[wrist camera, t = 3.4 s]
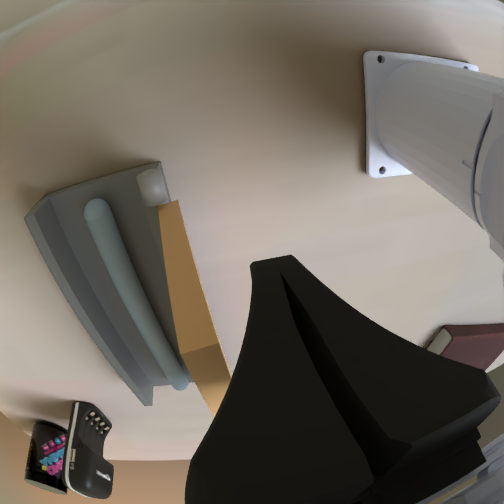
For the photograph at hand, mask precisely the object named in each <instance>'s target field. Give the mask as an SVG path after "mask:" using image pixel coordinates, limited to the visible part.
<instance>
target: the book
mask: <svg viewBox="0 0 504 504" xmlns="http://www.w3.org/2000/svg"><path fill="white" fill-rule="evenodd" d="M442 328H443V329H442ZM442 328H441V329H442V330H441V331H440V333H439V334H438V335H437V336H436V338H435V339H434V340H432V341H431V342H430V343H429V345H428V346H427V347H426V348H425V349H426V350H428V351H431V352H433V353H436V354H438V355H441V356H443V357H446V358H448V359H451V360H454V361H457V362H461V363H464V364H467V365H470V366H473V367H477V368H480V369H483V370H484V371H485V370H486V369H487V368H488V367H489V366H490V365H491V364H492V363H493V362H494V361H495V359H496V358H497V357H498V356H499V355H500V354H501V352H502V351H503V350H504V324H489V325H487V324H483V325H444V326H443V327H442Z"/></svg>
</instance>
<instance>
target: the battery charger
mask: <svg viewBox="0 0 504 504" xmlns="http://www.w3.org/2000/svg"><path fill="white" fill-rule="evenodd" d="M111 428H112V424H111V423H110V421H109V420H108V419H107V418H106V417H105V416H104V414H103V413H102V412H101V411H100V410H99V409H98V408H97V407H95V406H94V405H91V404H85V403H80V402H76V403H73V404H72V410H71V416H70V421H69V427H68V431H67V436H66V442H65V448H64V455H63V463H62V480H63V483H64V485H65V486H66V487H67V488H68V489H70V490H72V491H74V492H76V493H78V494H81V495H82V496H85V497H88V498H98V499H106V498H108V497H109V496H110V495H111V492H112V485H113V471H114V469H113V465H112V464H110V463H109V462H108V461H106V460H105V459H104V458H103V446H104V440H105V438H106V436H107V434H108V433H109V431H110V429H111Z"/></svg>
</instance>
